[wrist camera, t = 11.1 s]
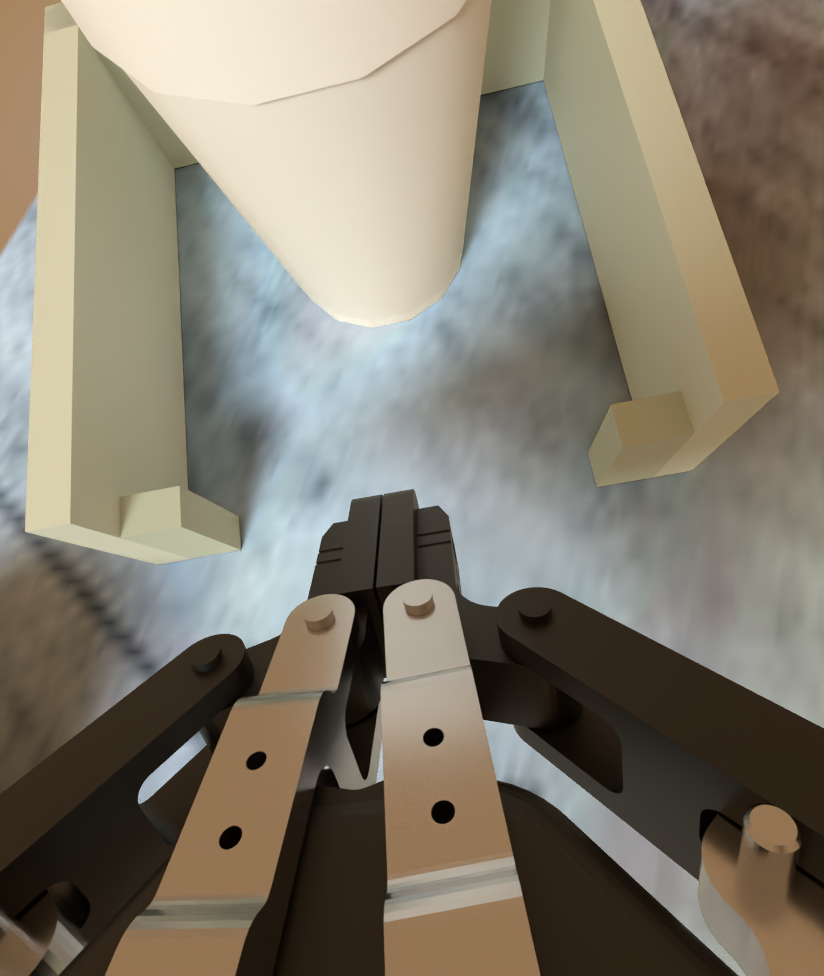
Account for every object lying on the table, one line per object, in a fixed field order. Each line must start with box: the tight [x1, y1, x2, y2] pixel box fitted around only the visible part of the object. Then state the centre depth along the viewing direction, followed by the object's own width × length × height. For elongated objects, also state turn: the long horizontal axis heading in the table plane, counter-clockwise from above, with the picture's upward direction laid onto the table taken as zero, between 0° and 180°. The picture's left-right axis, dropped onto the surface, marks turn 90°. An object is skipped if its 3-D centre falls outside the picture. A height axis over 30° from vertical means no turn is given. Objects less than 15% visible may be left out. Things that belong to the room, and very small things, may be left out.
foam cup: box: [61, 0, 491, 328], centre depth 16 cm, size 10×9×13 cm
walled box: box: [25, 0, 780, 565], centre depth 19 cm, size 18×18×6 cm
